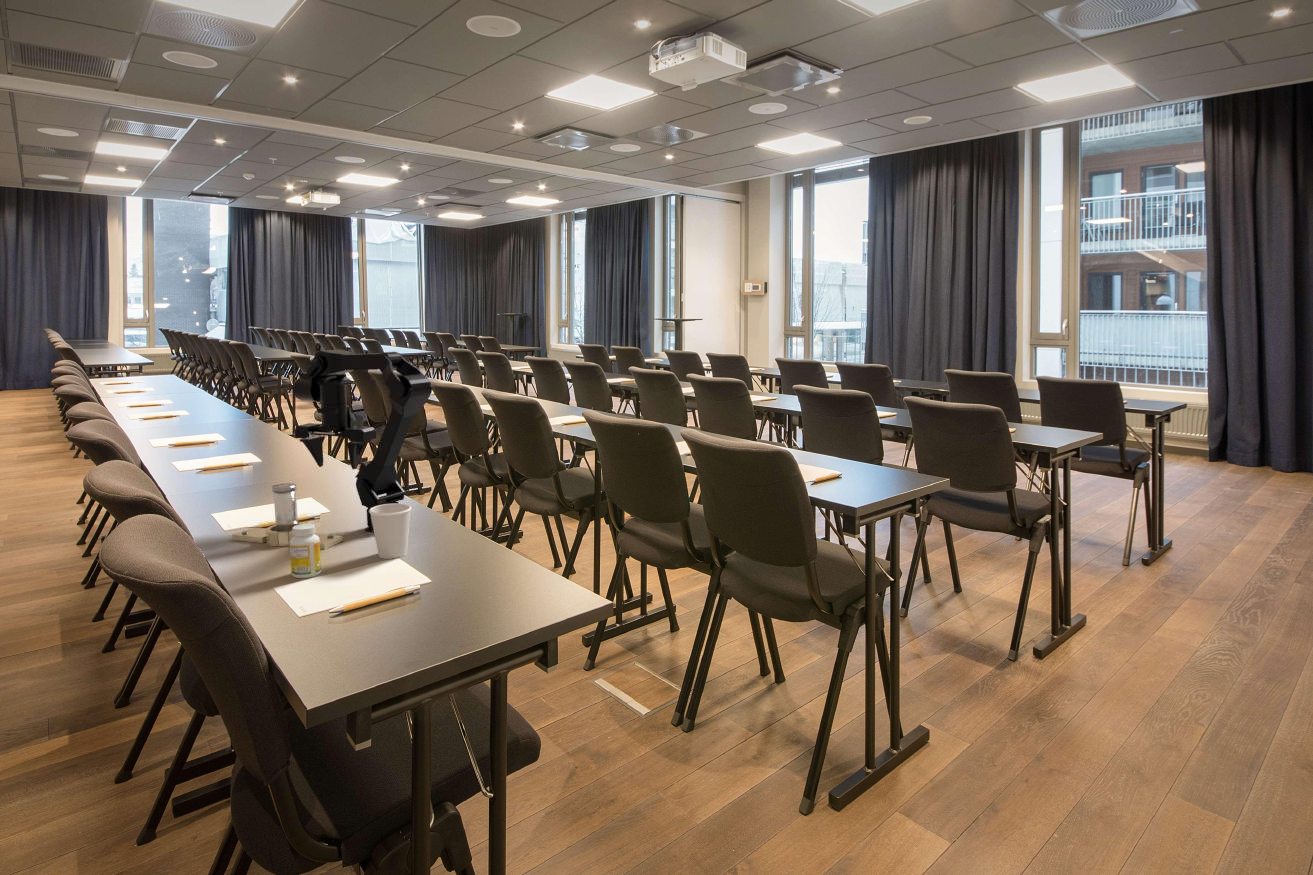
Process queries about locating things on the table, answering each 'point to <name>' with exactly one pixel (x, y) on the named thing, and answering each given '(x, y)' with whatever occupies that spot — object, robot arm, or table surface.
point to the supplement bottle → (305, 551)
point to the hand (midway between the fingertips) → (337, 467)
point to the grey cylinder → (285, 506)
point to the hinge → (281, 537)
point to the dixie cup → (391, 529)
